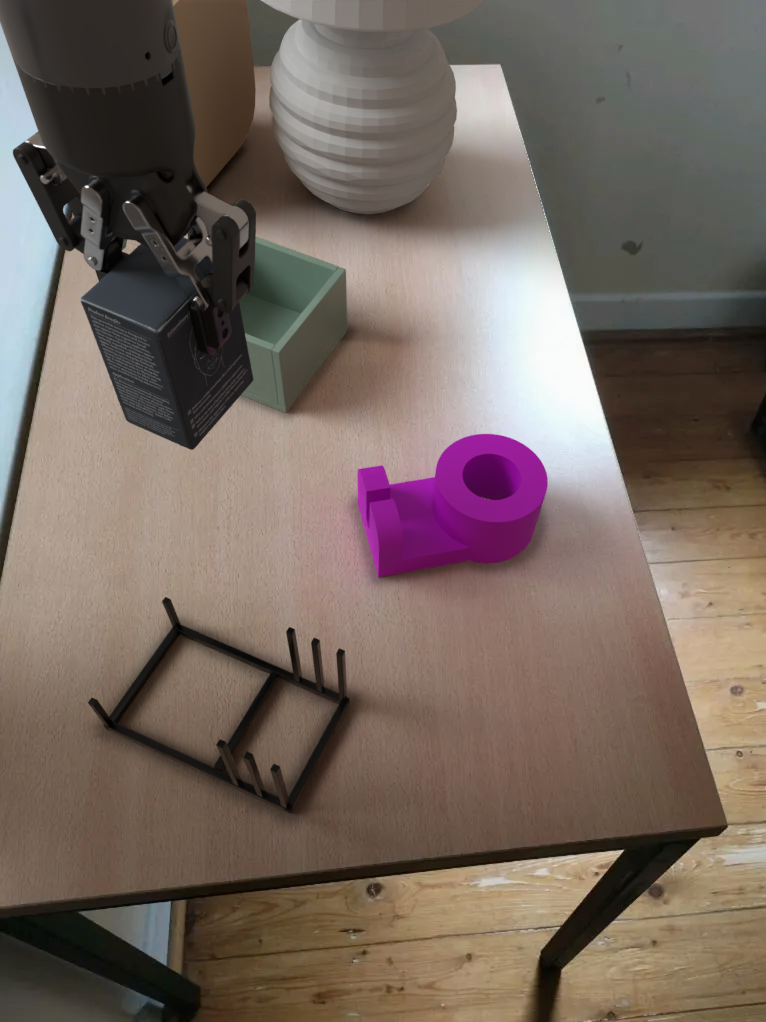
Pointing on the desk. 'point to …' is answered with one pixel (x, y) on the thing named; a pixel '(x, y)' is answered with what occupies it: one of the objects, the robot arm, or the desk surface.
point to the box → (163, 351)
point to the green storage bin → (290, 321)
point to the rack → (229, 748)
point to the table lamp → (365, 98)
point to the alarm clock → (217, 78)
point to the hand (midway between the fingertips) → (171, 328)
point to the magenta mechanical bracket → (455, 507)
